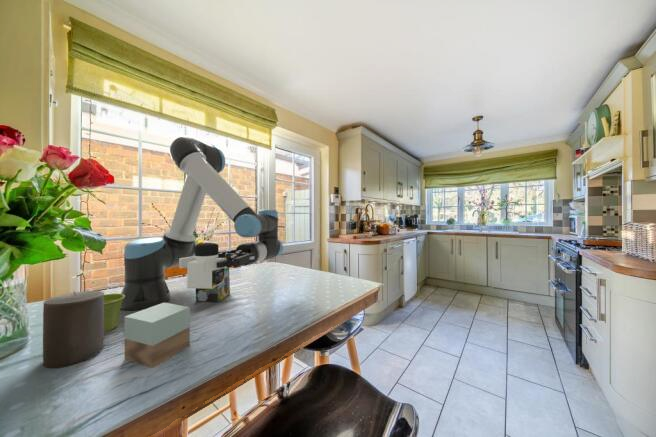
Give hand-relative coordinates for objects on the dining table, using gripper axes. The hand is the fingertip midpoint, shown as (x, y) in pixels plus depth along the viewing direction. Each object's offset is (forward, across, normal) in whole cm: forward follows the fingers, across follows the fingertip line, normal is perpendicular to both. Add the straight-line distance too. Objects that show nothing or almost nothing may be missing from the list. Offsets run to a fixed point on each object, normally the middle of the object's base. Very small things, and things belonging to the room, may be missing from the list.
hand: (192, 265), depth 63 cm
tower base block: (+8, 0, -19) cm, 21 cm away
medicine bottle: (-5, 0, -7) cm, 8 cm away
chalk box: (-23, +19, -20) cm, 36 cm away
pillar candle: (+17, +16, -20) cm, 31 cm away
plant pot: (+8, +26, -20) cm, 34 cm away
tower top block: (+8, 0, -14) cm, 17 cm away
